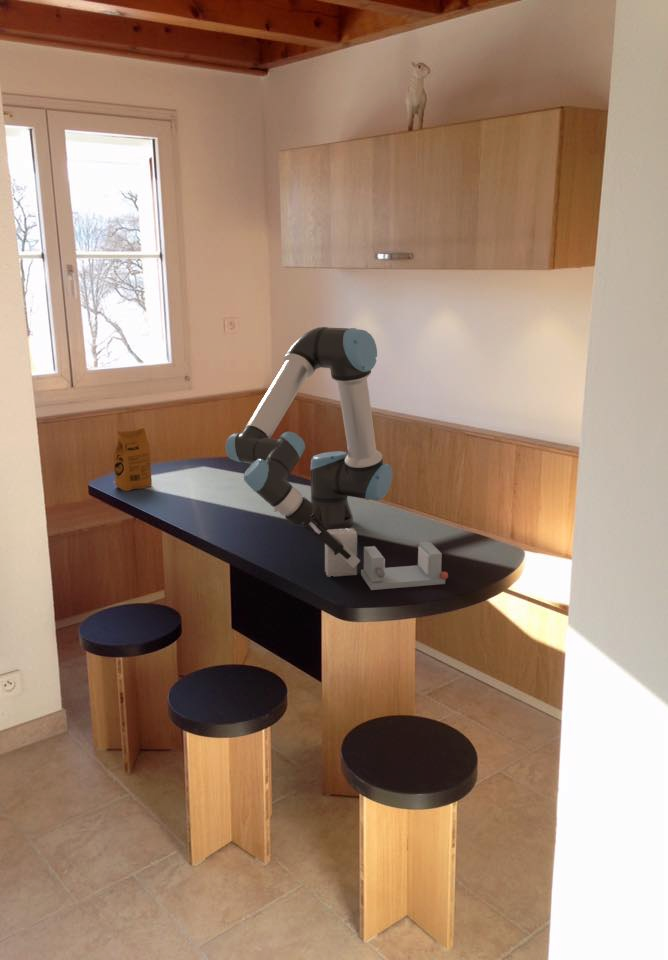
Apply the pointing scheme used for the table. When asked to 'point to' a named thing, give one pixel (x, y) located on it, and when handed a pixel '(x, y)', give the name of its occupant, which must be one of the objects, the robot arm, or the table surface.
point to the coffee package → (132, 460)
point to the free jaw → (374, 564)
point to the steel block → (335, 562)
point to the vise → (413, 571)
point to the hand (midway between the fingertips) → (354, 560)
